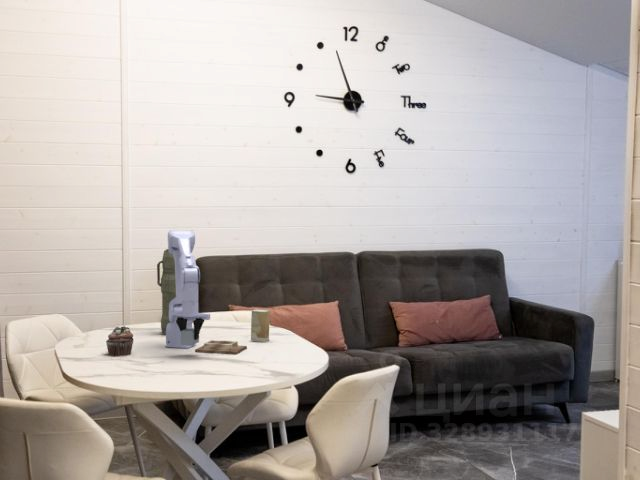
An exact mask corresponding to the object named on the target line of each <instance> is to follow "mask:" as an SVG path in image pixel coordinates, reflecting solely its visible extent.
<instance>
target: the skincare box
mask: <svg viewBox="0 0 640 480" xmlns="http://www.w3.org/2000/svg"><path fill="white" fill-rule="evenodd" d="M270 314H271V310H270V309H269V310H266V309H253V310H251V317H250V318H251V324H250V329H251V330H250V341H251V342H258V343H259V342H260V343H266V342H269V341H270V319H271V318H270V317H271V315H270Z"/></svg>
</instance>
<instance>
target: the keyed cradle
mask: <svg viewBox="0 0 640 480" xmlns="http://www.w3.org/2000/svg"><path fill="white" fill-rule="evenodd" d="M247 349H248V347H247V345H239V341H237V340H235V341H234V340H219V339H218V340H216V339H211V340H208V341H207V342H204V343H203V345H202V346H199V347H198V348H195V349H194V352H195V353H201V354H202V353H203V354H218V355H220V354H219V353H221V355H222V354H223V355H239V354H240V353H242V352H244V351H246V350H247Z"/></svg>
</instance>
